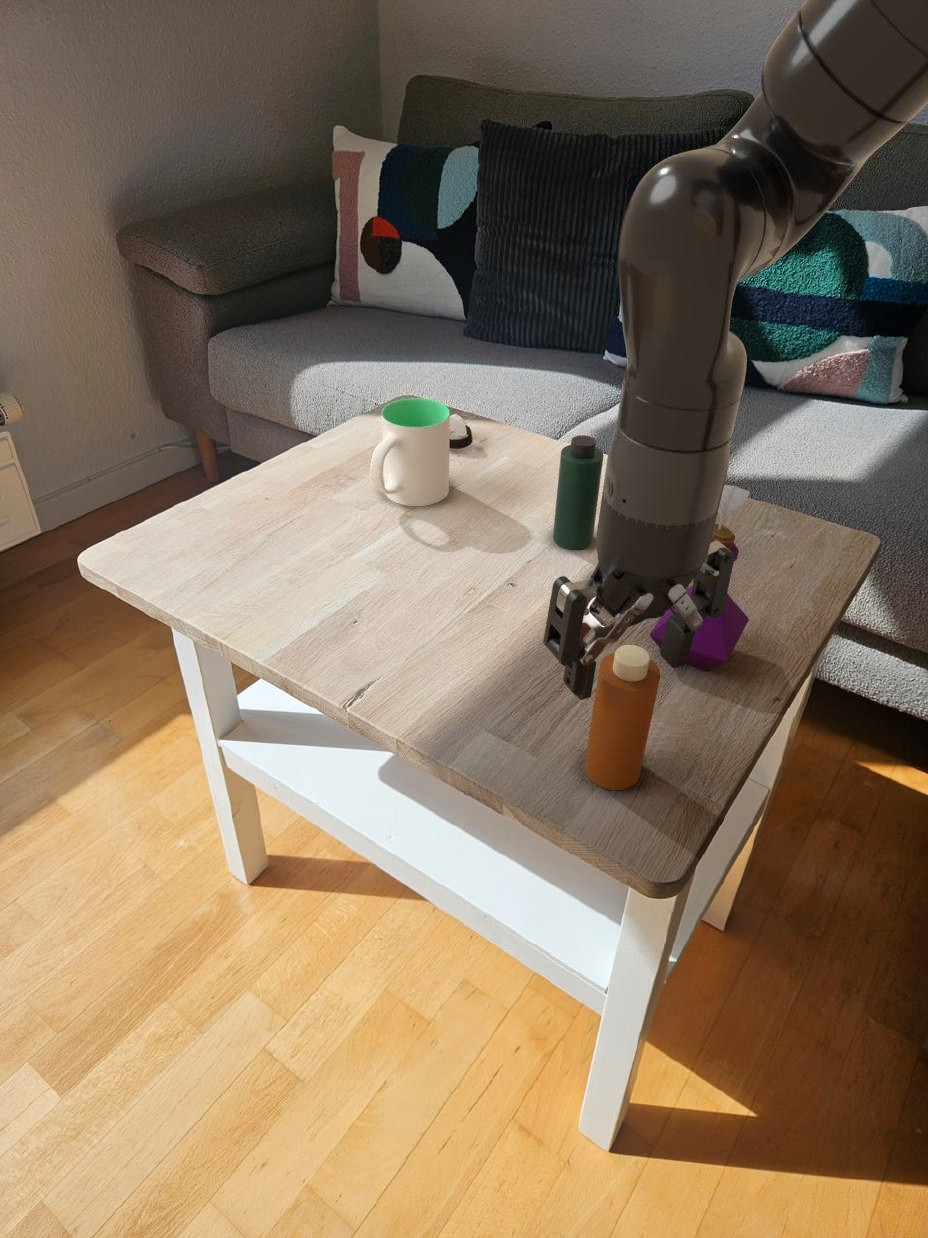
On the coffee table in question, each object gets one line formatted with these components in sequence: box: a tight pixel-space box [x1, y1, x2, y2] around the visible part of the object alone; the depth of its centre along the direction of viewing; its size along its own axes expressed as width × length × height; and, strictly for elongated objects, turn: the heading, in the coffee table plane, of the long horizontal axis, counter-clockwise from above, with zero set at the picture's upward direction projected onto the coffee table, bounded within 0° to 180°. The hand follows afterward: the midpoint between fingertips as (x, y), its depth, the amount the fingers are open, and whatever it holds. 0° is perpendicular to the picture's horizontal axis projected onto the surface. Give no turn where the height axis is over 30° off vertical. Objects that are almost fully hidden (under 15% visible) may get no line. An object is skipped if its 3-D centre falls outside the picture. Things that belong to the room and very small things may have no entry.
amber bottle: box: [584, 644, 661, 791], centre depth 69 cm, size 5×5×12 cm
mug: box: [369, 397, 451, 507], centre depth 104 cm, size 12×8×10 cm, turn 149°
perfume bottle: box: [649, 484, 751, 672], centre depth 79 cm, size 8×8×18 cm
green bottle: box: [552, 434, 604, 551], centre depth 97 cm, size 5×5×12 cm
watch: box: [449, 413, 473, 450], centre depth 119 cm, size 8×5×4 cm, turn 43°
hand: (626, 676), depth 66 cm, fingers open, 8 cm apart
